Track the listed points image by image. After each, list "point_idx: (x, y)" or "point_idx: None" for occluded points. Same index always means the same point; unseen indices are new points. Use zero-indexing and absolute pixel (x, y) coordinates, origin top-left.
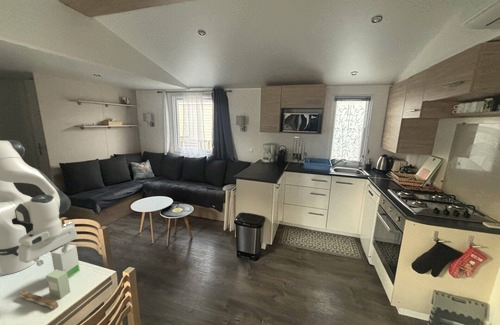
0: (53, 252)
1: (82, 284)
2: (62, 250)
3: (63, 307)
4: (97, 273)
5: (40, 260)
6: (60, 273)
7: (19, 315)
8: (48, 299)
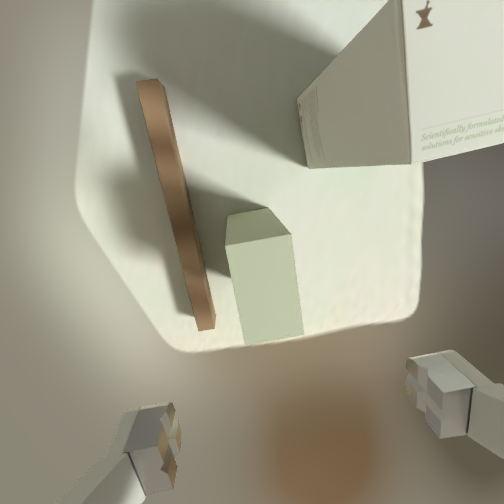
0: (410, 27)
1: (326, 272)
2: (429, 397)
3: (224, 335)
4: (400, 258)
5: (153, 460)
6: (279, 311)
7: (116, 230)
8: (201, 279)
